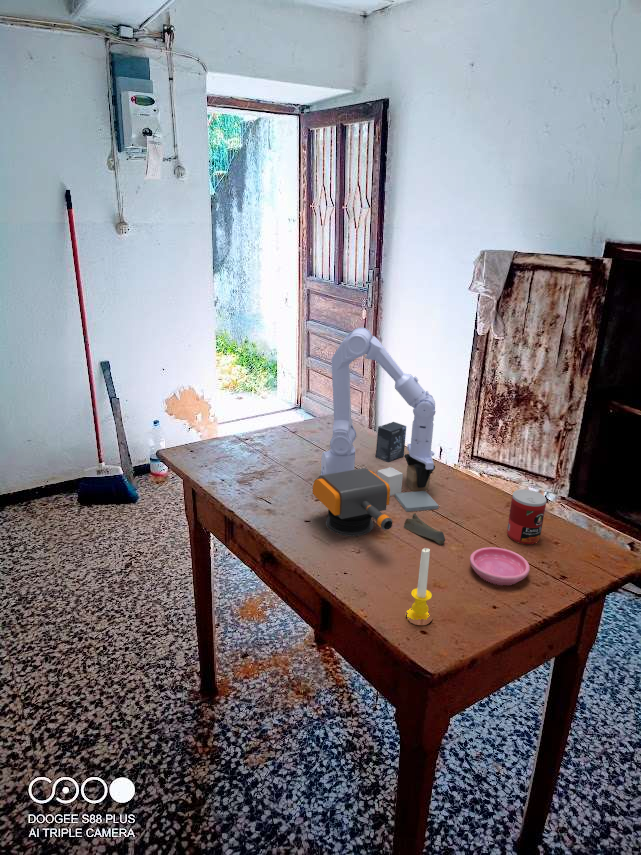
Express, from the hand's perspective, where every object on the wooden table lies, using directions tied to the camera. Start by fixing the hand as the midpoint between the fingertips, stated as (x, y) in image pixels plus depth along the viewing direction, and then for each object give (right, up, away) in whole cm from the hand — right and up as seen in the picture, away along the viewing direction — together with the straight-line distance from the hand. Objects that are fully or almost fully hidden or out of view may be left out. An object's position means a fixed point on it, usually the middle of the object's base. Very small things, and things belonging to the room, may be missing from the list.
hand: (417, 482), depth 169 cm
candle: (-9, -21, -55) cm, 59 cm away
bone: (-1, -11, -24) cm, 26 cm away
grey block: (-9, -2, -2) cm, 9 cm away
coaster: (-2, -5, -9) cm, 10 cm away
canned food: (+22, -11, -24) cm, 34 cm away
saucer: (+11, -16, -39) cm, 44 cm away
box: (-5, +6, +22) cm, 23 cm away
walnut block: (0, -1, 0) cm, 2 cm away
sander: (-18, -10, -25) cm, 33 cm away
